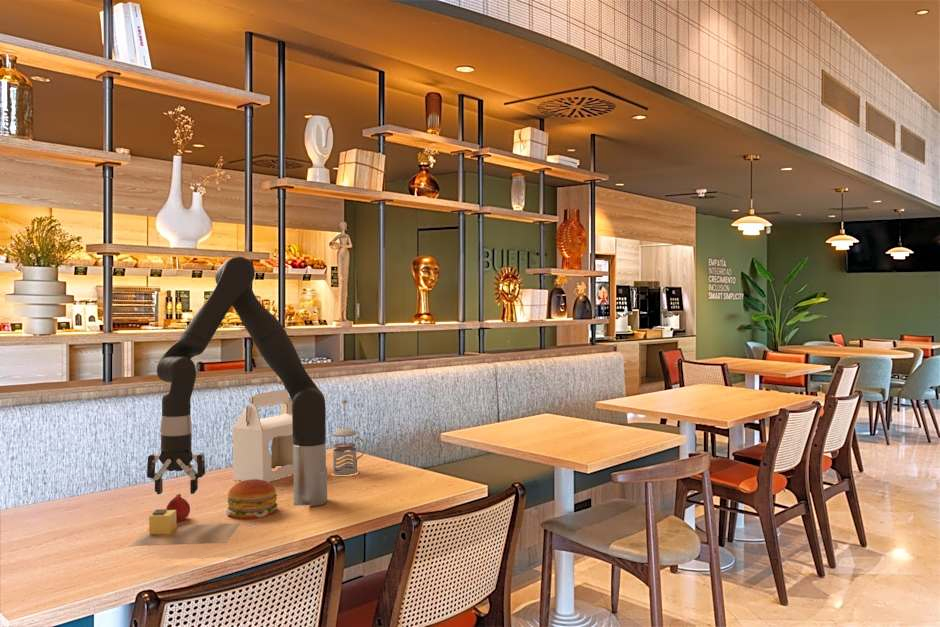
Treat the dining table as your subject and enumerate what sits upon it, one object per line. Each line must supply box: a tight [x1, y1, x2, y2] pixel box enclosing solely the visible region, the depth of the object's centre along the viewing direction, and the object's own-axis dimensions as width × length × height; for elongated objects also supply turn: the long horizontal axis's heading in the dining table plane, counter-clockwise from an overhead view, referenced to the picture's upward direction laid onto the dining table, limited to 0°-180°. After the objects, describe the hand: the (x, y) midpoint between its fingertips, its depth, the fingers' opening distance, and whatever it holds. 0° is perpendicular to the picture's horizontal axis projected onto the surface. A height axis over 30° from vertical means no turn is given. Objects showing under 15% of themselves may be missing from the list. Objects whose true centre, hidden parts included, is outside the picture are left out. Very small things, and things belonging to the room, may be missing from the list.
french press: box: [331, 399, 366, 475], centre depth 250 cm, size 10×12×25 cm
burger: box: [226, 479, 279, 520], centre depth 201 cm, size 14×14×10 cm
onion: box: [165, 493, 191, 523], centre depth 195 cm, size 6×6×8 cm
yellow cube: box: [148, 508, 178, 534], centre depth 185 cm, size 5×5×5 cm
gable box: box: [232, 389, 293, 483], centre depth 248 cm, size 22×13×28 cm, turn 152°
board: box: [130, 522, 241, 547], centre depth 181 cm, size 22×18×1 cm
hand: (176, 493), depth 195 cm, fingers open, 8 cm apart
